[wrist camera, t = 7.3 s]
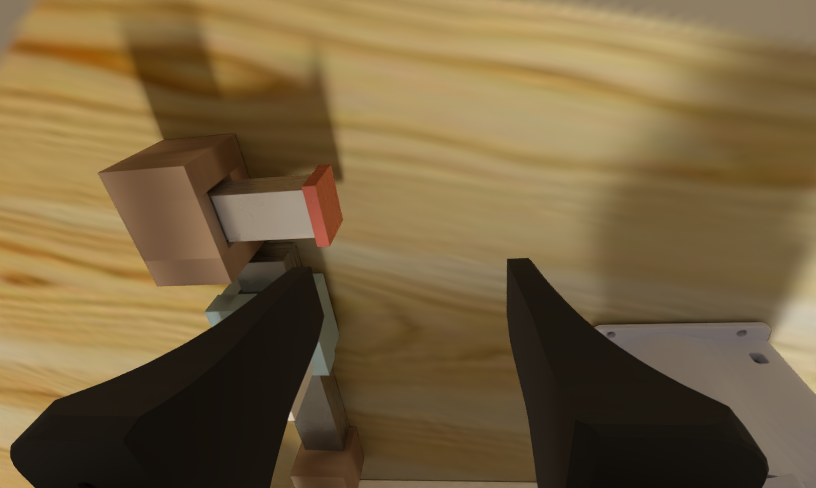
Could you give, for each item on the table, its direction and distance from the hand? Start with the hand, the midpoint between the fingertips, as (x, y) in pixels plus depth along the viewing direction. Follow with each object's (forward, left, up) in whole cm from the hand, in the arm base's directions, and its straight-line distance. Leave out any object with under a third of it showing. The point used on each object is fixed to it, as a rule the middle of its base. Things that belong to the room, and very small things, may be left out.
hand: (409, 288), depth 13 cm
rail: (+10, +12, -9) cm, 18 cm away
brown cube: (+10, +22, -9) cm, 26 cm away
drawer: (+7, 0, -8) cm, 11 cm away
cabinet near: (+12, 0, -9) cm, 15 cm away
